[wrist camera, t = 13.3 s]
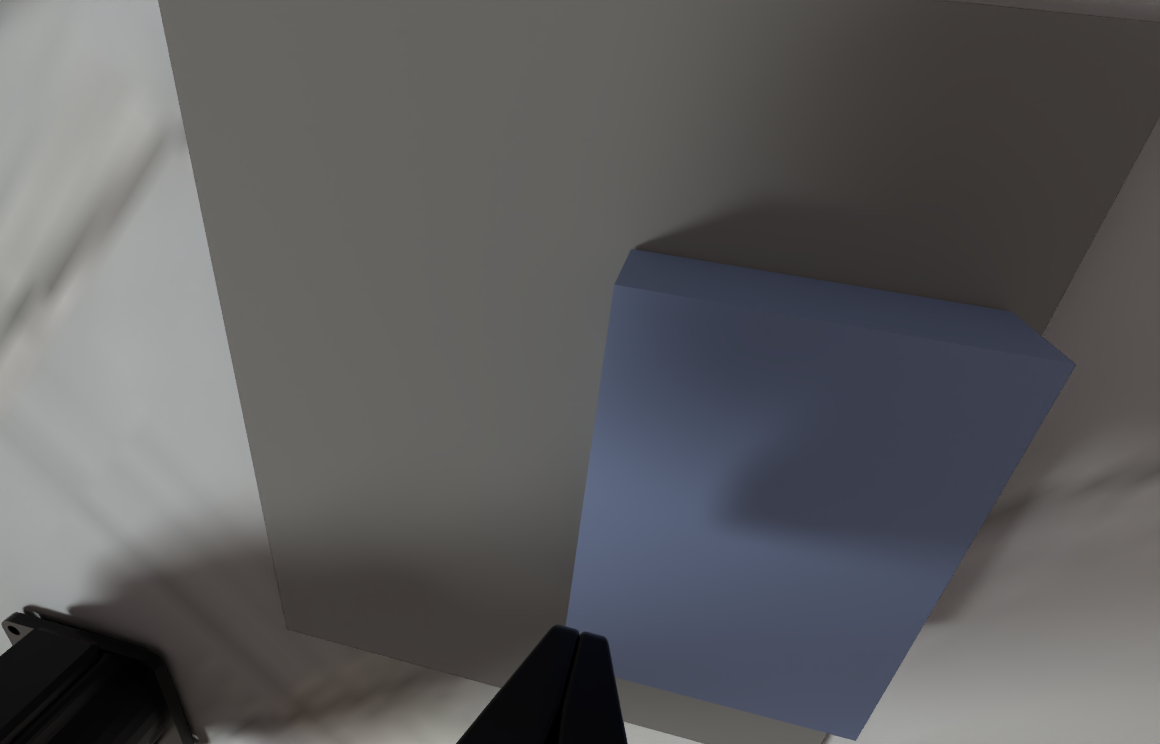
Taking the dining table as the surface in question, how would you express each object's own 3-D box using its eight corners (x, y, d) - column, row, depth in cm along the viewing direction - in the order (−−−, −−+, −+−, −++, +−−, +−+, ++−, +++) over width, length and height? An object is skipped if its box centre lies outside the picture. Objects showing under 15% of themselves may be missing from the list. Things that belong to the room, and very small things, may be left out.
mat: (804, 756, 17) (806, 771, 16) (295, 618, 19) (287, 629, 18) (1186, 29, 8) (1206, 27, 8) (161, -76, 10) (141, -81, 10)
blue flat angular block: (579, 590, 15) (837, 654, 14) (560, 662, 13) (856, 740, 12) (631, 247, 11) (1009, 310, 10) (613, 284, 9) (1075, 365, 8)
